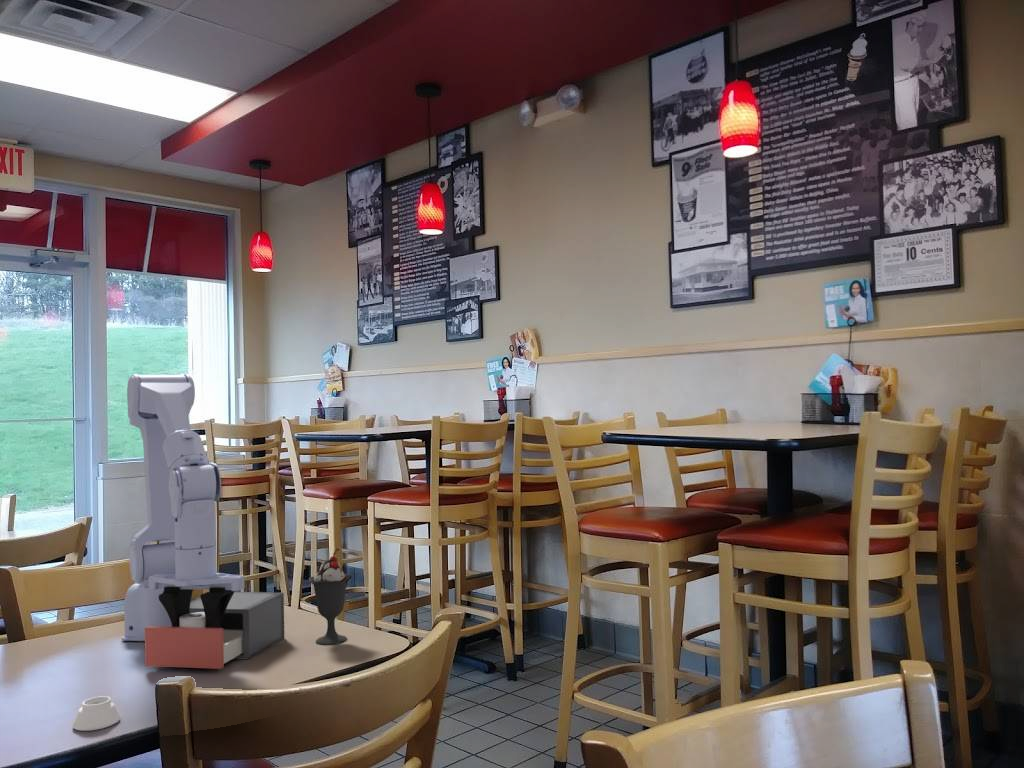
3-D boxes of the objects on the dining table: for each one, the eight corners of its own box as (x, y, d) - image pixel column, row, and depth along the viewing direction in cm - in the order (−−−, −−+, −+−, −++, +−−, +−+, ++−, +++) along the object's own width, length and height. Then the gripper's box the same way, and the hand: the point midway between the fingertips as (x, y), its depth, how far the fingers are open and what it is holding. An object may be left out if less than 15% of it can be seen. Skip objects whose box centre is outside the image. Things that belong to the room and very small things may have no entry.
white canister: (173, 654, 116) (172, 618, 116) (193, 644, 120) (192, 610, 120) (200, 655, 115) (199, 619, 115) (219, 646, 119) (219, 611, 119)
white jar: (121, 727, 95) (118, 714, 99) (121, 702, 95) (117, 690, 99) (73, 737, 92) (72, 723, 96) (73, 711, 92) (72, 698, 97)
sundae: (347, 646, 125) (345, 549, 125) (305, 647, 125) (303, 551, 125) (356, 634, 131) (354, 542, 132) (316, 635, 132) (314, 544, 132)
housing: (172, 656, 122) (171, 607, 122) (212, 636, 133) (211, 591, 133) (249, 659, 120) (248, 609, 120) (284, 638, 130) (283, 592, 131)
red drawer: (145, 665, 115) (144, 627, 115) (189, 644, 126) (188, 609, 126) (220, 668, 113) (220, 629, 113) (258, 646, 123) (258, 610, 123)
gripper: (134, 550, 116) (135, 645, 115) (225, 551, 113) (227, 648, 112) (164, 542, 123) (166, 631, 122) (251, 542, 120) (252, 634, 119)
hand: (197, 638), depth 118 cm, fingers closed on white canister, 4 cm apart
